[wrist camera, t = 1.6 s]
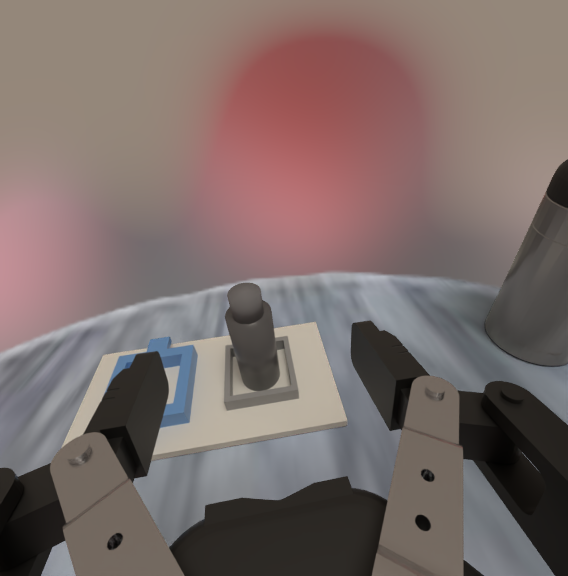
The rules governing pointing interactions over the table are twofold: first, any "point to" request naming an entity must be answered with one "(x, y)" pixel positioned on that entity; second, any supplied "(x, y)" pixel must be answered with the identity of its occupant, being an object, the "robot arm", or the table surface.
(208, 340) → the panel
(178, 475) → the table surface
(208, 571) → the robot arm
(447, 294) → the table surface
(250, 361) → the stepped grey cylinder
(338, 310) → the table surface
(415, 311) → the table surface
